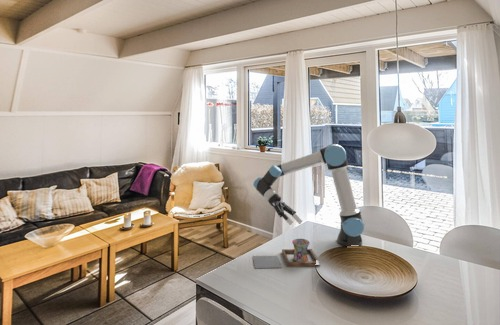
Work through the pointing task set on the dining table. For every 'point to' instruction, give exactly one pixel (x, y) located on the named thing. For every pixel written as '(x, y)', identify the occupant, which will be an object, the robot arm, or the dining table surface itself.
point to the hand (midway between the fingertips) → (296, 223)
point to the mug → (300, 250)
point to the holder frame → (298, 264)
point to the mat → (266, 262)
